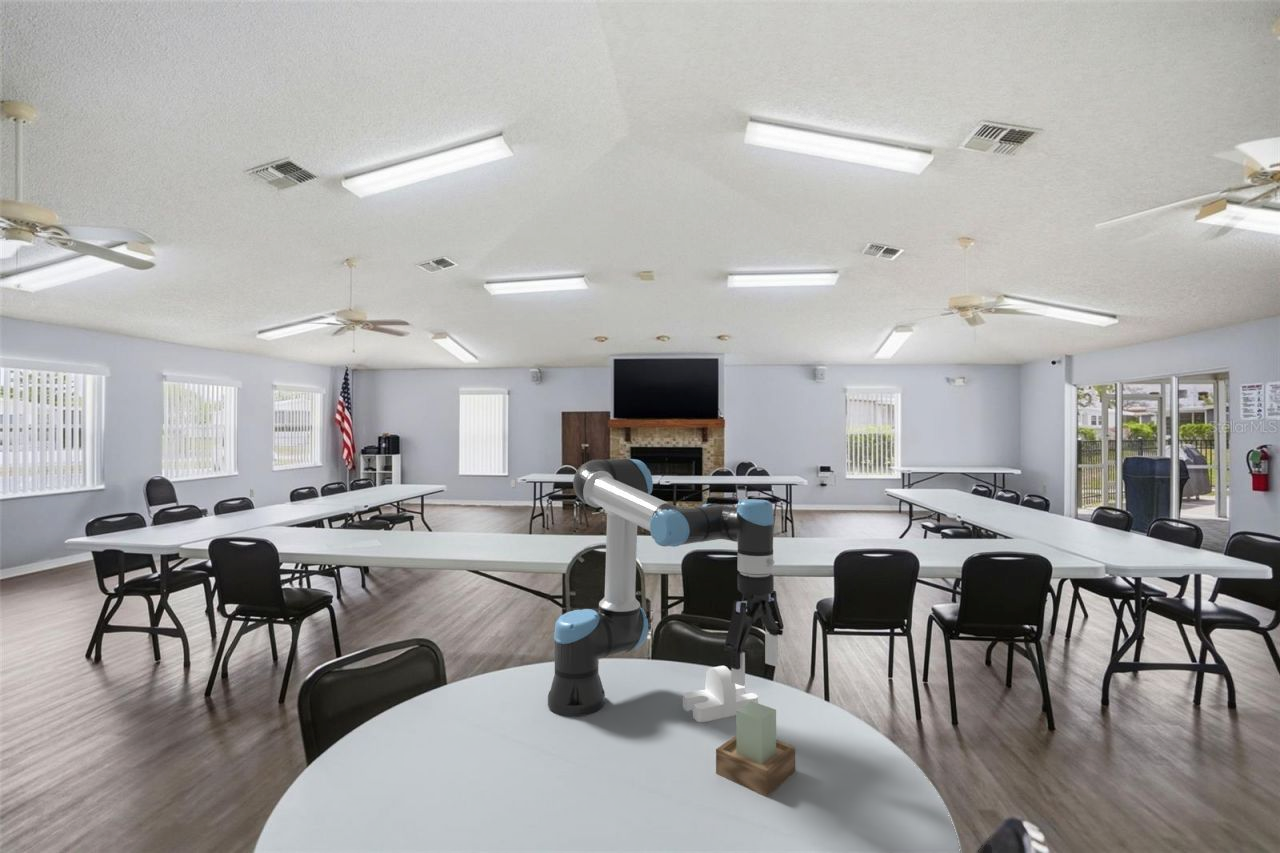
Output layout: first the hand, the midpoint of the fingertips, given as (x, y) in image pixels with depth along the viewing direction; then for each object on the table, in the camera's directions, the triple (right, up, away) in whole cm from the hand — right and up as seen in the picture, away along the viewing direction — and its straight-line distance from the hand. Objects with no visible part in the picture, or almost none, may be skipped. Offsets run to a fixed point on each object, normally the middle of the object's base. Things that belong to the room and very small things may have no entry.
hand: (755, 673), depth 123 cm
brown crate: (0, -21, -1) cm, 21 cm away
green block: (0, -17, -1) cm, 17 cm away
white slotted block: (-3, -22, +29) cm, 36 cm away
